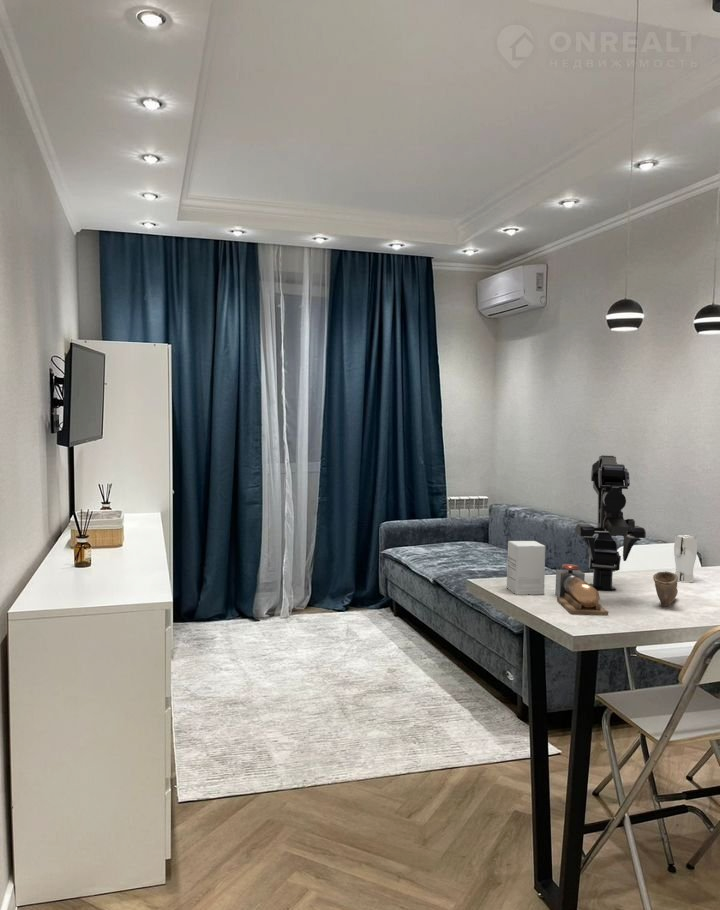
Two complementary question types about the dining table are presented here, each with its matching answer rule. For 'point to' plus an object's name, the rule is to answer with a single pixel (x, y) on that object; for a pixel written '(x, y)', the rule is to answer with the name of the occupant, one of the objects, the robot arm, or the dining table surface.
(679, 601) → the dining table surface
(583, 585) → the tan rounded oblong piece
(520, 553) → the supplement box
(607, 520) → the robot arm
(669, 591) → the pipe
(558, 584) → the valve block
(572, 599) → the pipe cradle
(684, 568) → the beer glass
